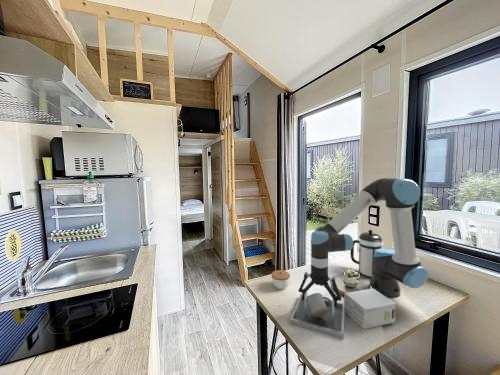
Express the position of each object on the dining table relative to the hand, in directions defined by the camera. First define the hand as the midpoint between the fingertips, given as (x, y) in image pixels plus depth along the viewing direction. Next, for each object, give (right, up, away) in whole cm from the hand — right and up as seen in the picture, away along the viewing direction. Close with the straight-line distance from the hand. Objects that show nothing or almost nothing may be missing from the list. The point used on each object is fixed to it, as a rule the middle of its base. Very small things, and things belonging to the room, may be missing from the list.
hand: (319, 309), depth 101 cm
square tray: (0, -3, 0) cm, 3 cm away
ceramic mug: (+1, -2, 0) cm, 2 cm away
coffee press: (+44, +1, +39) cm, 59 cm away
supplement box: (+23, -3, -1) cm, 23 cm away
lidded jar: (-14, -1, +26) cm, 30 cm away
